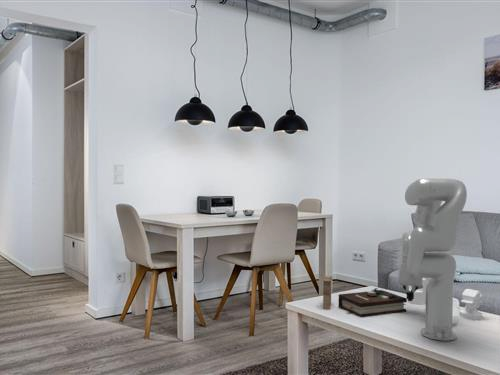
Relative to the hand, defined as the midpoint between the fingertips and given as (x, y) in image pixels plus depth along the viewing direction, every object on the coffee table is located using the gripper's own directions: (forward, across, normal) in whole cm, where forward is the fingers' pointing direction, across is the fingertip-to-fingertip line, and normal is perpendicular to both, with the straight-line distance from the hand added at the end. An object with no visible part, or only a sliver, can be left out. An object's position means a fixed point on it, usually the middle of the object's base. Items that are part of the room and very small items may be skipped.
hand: (410, 300), depth 200 cm
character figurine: (+6, -25, 0) cm, 26 cm away
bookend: (+5, +37, +1) cm, 37 cm away
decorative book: (+6, +16, 0) cm, 18 cm away
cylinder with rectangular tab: (+6, -5, -20) cm, 21 cm away
